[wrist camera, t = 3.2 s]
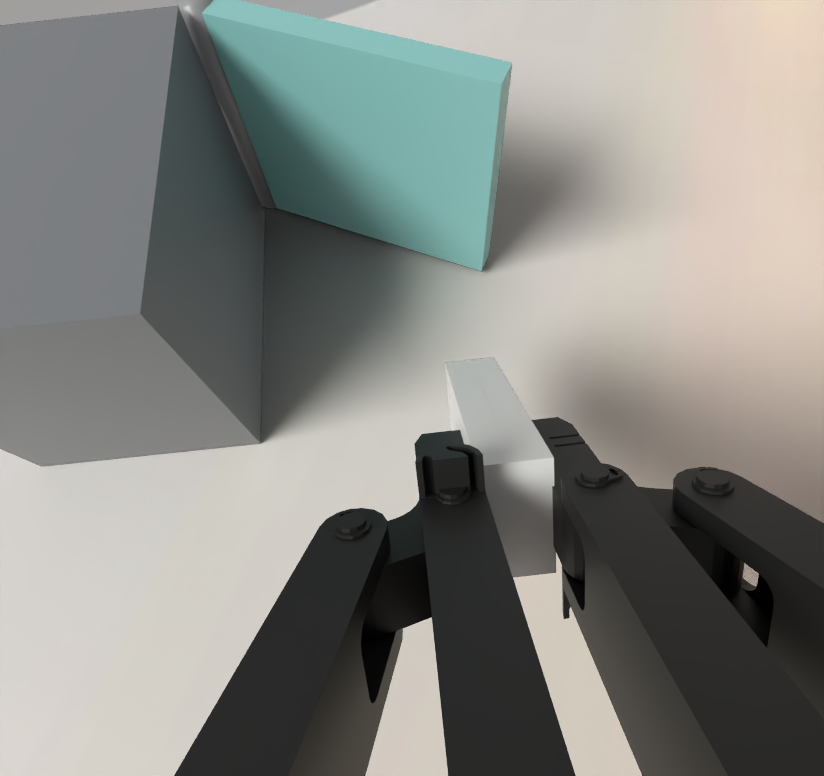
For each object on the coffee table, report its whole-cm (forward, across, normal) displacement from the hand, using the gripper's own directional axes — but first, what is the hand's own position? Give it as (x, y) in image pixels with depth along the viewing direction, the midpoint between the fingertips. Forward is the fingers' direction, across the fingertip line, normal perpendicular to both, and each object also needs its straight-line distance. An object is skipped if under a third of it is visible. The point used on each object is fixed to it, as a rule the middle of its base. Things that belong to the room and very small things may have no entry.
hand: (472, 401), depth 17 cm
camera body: (+9, -13, +2) cm, 16 cm away
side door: (+12, -3, +5) cm, 13 cm away
